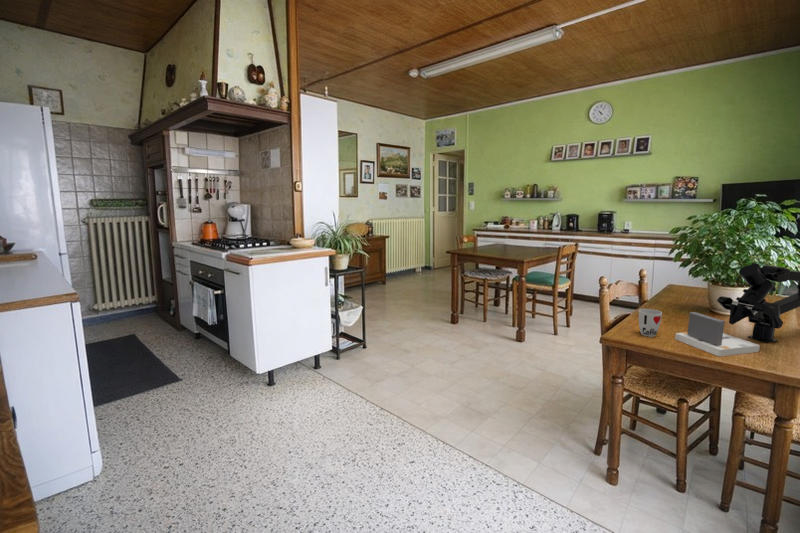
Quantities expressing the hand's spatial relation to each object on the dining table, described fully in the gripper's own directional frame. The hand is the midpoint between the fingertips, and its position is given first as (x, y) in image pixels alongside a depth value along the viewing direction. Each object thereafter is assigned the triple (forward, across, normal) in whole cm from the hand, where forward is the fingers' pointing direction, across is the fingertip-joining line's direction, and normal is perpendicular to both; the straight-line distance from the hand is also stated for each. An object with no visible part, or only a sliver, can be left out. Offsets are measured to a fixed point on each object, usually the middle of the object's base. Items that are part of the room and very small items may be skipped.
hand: (730, 323), depth 153 cm
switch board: (+10, 0, -1) cm, 10 cm away
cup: (+20, +15, +12) cm, 28 cm away
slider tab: (+12, -1, +5) cm, 13 cm away
